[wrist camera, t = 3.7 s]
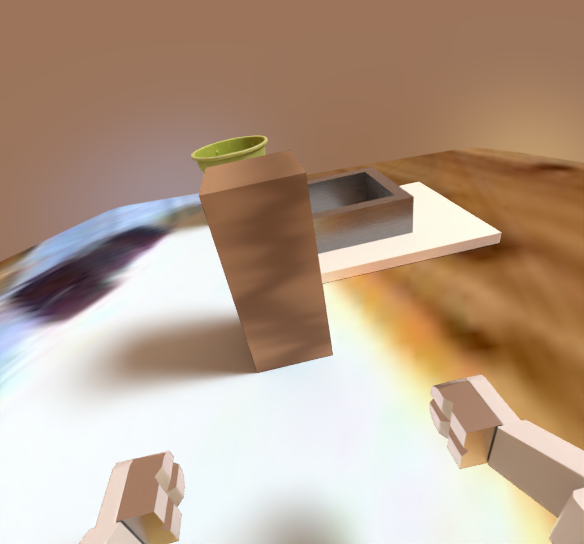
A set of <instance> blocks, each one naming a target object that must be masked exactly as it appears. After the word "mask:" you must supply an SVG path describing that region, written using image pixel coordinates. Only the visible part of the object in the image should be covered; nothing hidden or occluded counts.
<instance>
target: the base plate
mask: <svg viewBox="0 0 584 544" xmlns="http://www.w3.org/2000/svg"><path fill="white" fill-rule="evenodd" d="M399 187H401V188H402V189H404V190H405V191H406V192H408V193H409V194H411V195H412V196H413V197H414V204H413V233H409V234H404V235H400V236H395V237H391V238H387V239H382V240H378V241H373V242H369V243H364V244H360V245H356V246H351V247H347V248H342V249H338V250H334V251H329V252H325V253H320V254H318V257H319V264H320V271H321V278H322V284H323V283H327V282H331V281H336V280H340V279H344V278H349V277H353V276H357V275H362V274H366V273H371V272H375V271H379V270H384V269H388V268H392V267H397V266H401V265H405V264H410V263H414V262H418V261H423V260H427V259H431V258H436V257H440V256H444V255H449V254H453V253H457V252H462V251H466V250H470V249H475V248H479V247H483V246H488V245H492V244H497V243H500V237H501V232H500V231H498V230H496V229H495V228H493V227H492V226H490V225H488V224H487V223H485V222H483V221H482V220H480V219H479V218H477V217H475V216H474V215H472V214H470V213H469V212H467V211H466V210H464V209H462V208H461V207H459V206H457V205H456V204H454V203H453V202H451V201H449V200H448V199H446V198H444V197H443V196H441V195H440V194H438V193H436V192H435V191H433V190H431V189H430V188H428V187H427V186H425V185H423V184H422V183H420V182H416V183H411V184H406V185H402V186H399Z"/></svg>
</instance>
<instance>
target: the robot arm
mask: <svg viewBox="0 0 584 544" xmlns="http://www.w3.org/2000/svg"><path fill="white" fill-rule="evenodd" d="M431 395H432V397H433V398H434V399H433V400H432V401H431V402H430V413H431V417H432V420H433V422H434V425H435V427H436V429H437V430H438V432H439V434H441V435H442V436H444V437H446V438H447V439H448V444H447V448H448V450H449V452H450V453H451V455H452V457H453V459H454V460H455V462H456V464H457V466H458V467H459V469H462V468H467V467H471V466H476V465H480V464H485V463H488V465H489V466H490V467H492V468H493V469H494V470H496V471H497V472H498V473H500V474H501V475H502V476H503V477H505V478H506V479H507V480H509V481H510V482H511V483H513V484H514V485H515V486H517V487H518V488H519V489H520V490H522V491H523V492H524V493H526V494H527V495H528V496H530V497H531V498H532V499H534V500H535V501H536V502H537V503H539V504H540V505H541V506H543V507H544V508H545V509H547V510H548V511H549V512H551V513H552V514H553V515H554V516H556V517H557V518H558V519H557V520H556V522H555V524H554V526H553V528H552V529H551V531H550V535H549V539H550V541H551V542H552V544H584V451H583V450H581V449H579V448H578V447H576V446H574V445H572V444H570V443H568V442H566V441H564V440H563V439H561V438H559V437H557V436H555V435H553V434H551V433H550V432H548V431H546V430H544V429H542V428H540V427H538V426H536V425H535V424H533V423H531V422H529V421H527V420H522V421H521V420H520V419H519V418H518V417H517V416H516V414H515V413H514V412H513V411H512V410H511V408H510V407H509V406H508V405H507V404H506V402H505V401H504V400H503V399H502V397H501V396H500V395H499V394H498V393H497V391H496V390H495V389H494V388H493V387H492V385H491V384H490V383H489V382H488V381H487V379H486V378H485V377H484V376H482V375H474V376H471V377H467V378H461V379H457V380H454V381H450V382H446V383H442V384H438V385H435V386H433V387H432V388H431ZM173 459H174V456H173V455H172V453H171V452H170V451H166V452H162V453H158V454H154V455H149V456H145V457H141V458H137V459H131V460H127V461H123V462H119V463H116V465H115V467H114V468H113V470H112V472H111V476H110V479H109V482H108V486H107V489H106V493H105V496H104V499H103V503H102V506H101V509H100V513H99V516H98V519H97V523H96V526H95V528H93V529H90V530H89V531H88V532H87V533H86V535H85V536H84V537H83V539H82V540H81V541H80V543H79V544H170V543H173V542H177V541H179V534H180V526H181V517H182V514H181V512H180V511H179V509H178V505H179V504H180V502H181V501H182V499H183V498H184V488H185V484H184V474H183V471H182V468H181V467H180V465H179V464H176V463H174V462H173Z"/></svg>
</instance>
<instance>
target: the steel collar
mask: <svg viewBox="0 0 584 544" xmlns="http://www.w3.org/2000/svg"><path fill="white" fill-rule="evenodd" d="M307 183H308V189H309V196H310V203H311V210H312V216H313V223H314V230H315V237H316V244H317V250H318V254H320V253H325V252H329V251H334V250H338V249H342V248H347V247H351V246H356V245H360V244H364V243H369V242H373V241H378V240H382V239H387V238H391V237H395V236H400V235H404V234H409V233H413V204H414V197H413V196H412V195H411V194H409V193H408V192H406V191H405V190H404V189H402V188H401V187H399V186H398V185H397V184H395V183H394V182H392V181H391V180H390V179H388V178H387V177H385V176H384V175H383V174H381V173H380V172H378V171H377V170H376V169H374V168H373V167H369V168H364V169H359V170H355V171H350V172H345V173H341V174H336V175H332V176H327V177H322V178H318V179H313V180H309V181H307Z"/></svg>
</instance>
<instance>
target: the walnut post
mask: <svg viewBox="0 0 584 544" xmlns="http://www.w3.org/2000/svg"><path fill="white" fill-rule="evenodd" d="M199 197H200V200H201V203H202V206H203V210H204V213H205V216H206V219H207V222H208V225H209V228H210V231H211V234H212V237H213V240H214V243H215V246H216V249H217V252H218V255H219V258H220V261H221V264H222V267H223V270H224V273H225V276H226V279H227V282H228V285H229V288H230V291H231V294H232V297H233V300H234V303H235V306H236V309H237V312H238V316H239V319H240V322H241V325H242V328H243V331H244V334H245V337H246V340H247V343H248V346H249V349H250V352H251V355H252V358H253V361H254V364H255V367H256V370H257V373H259V372H263V371H268V370H272V369H276V368H280V367H284V366H288V365H293V364H297V363H301V362H305V361H309V360H314V359H318V358H322V357H326V356H330V355H333V352H332V346H331V339H330V332H329V325H328V318H327V312H326V305H325V298H324V291H323V284H322V278H321V271H320V264H319V257H318V250H317V244H316V237H315V230H314V223H313V216H312V210H311V203H310V196H309V189H308V183H307V176H306V172H305V170H304V169H303V168H302V166H301V165H300V163H299V162H298V161H297V159H296V158H295V156H294V155H293V153H292V152H291V150H287V151H282V152H278V153H273V154H269V155H263V156H259V157H254V158H249V159H245V160H240V161H235V162H231V163H226V164H221V165H217V166H212V167H207V168H206V169H205V173H204V177H203V181H202V185H201V189H200V193H199Z"/></svg>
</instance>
